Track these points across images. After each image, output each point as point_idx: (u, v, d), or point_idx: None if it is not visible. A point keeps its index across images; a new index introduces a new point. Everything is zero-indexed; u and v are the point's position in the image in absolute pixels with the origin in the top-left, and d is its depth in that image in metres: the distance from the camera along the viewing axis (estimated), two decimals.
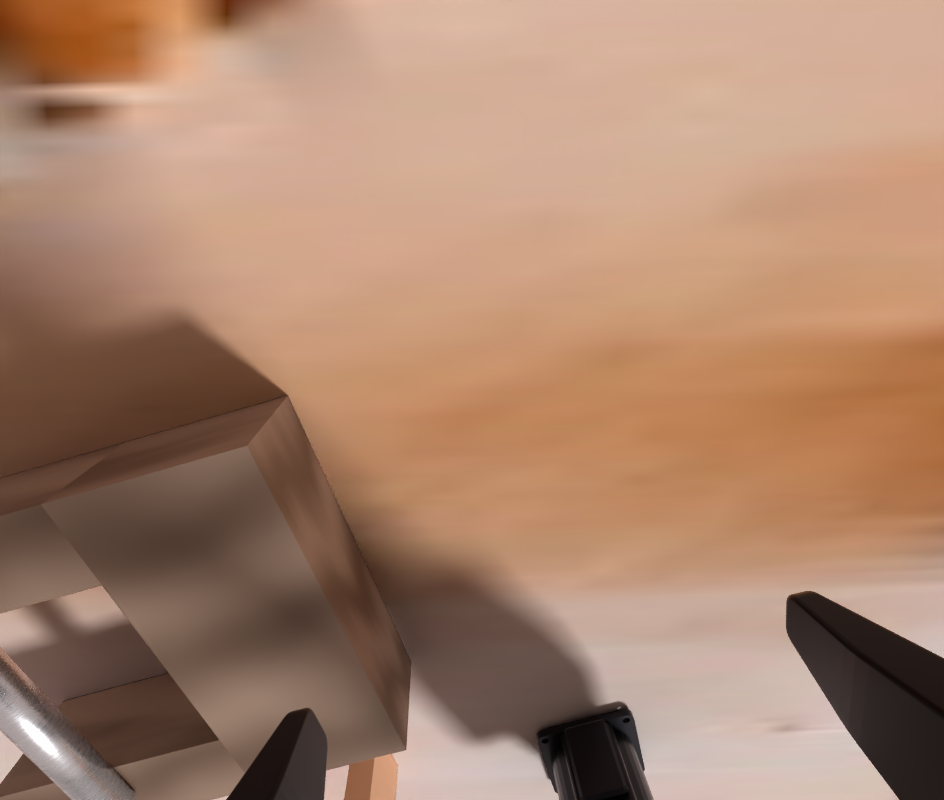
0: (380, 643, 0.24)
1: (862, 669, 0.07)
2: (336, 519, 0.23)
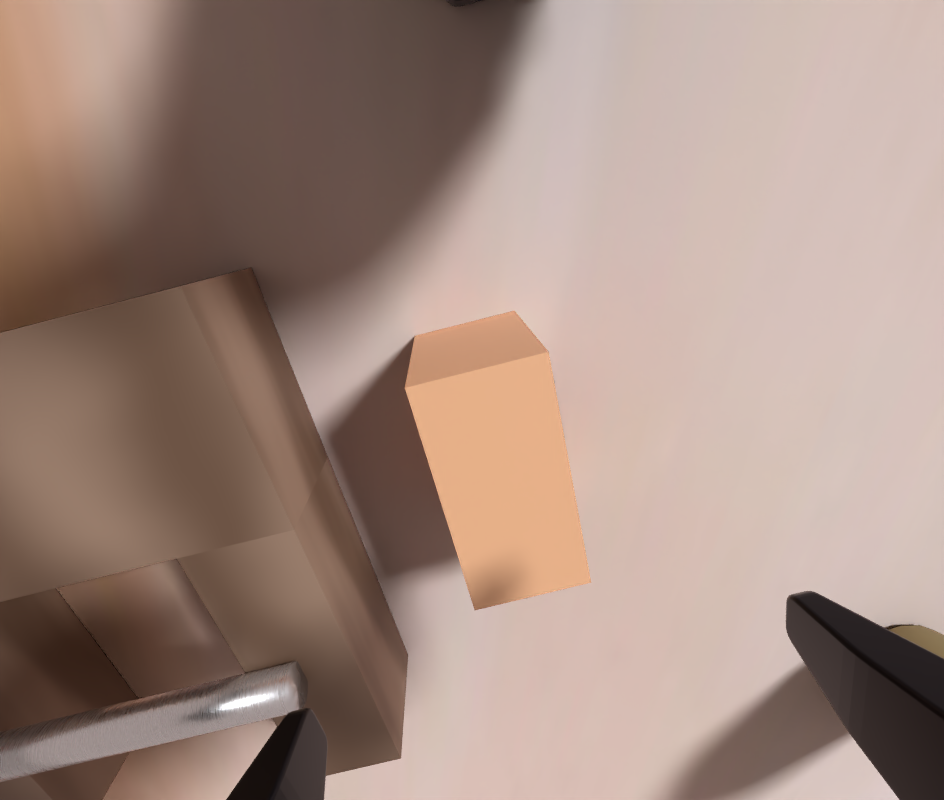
0: None
1: (862, 669, 0.07)
2: None
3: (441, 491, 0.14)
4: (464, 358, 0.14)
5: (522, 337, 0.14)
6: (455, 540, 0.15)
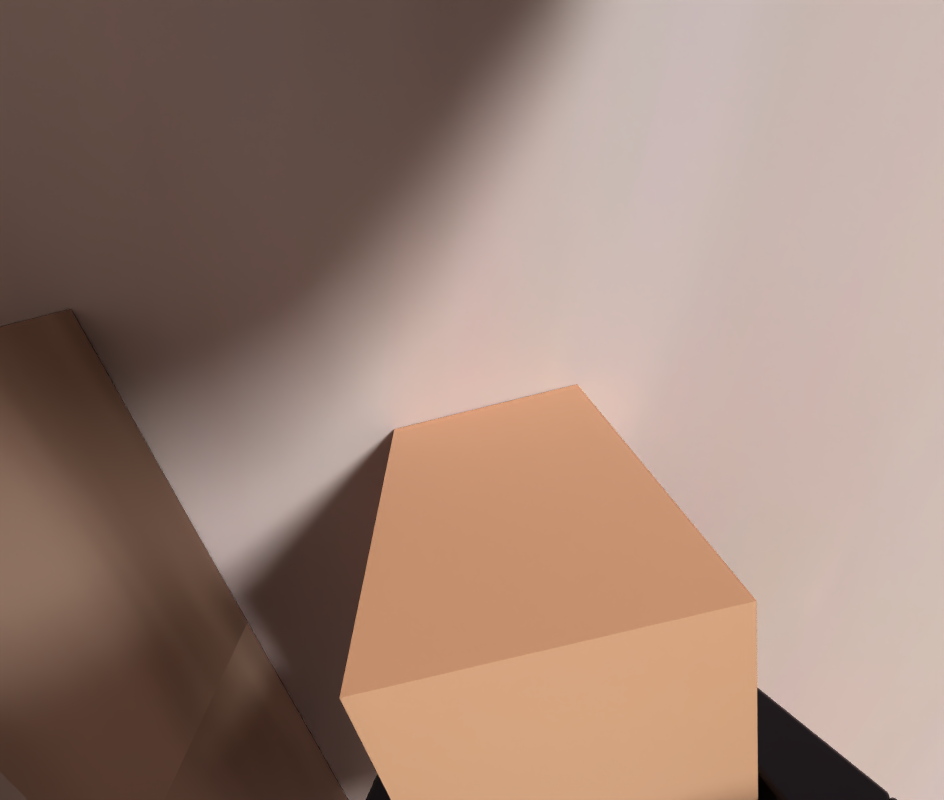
0: None
1: None
2: None
3: None
4: (501, 559, 0.06)
5: (633, 491, 0.06)
6: None
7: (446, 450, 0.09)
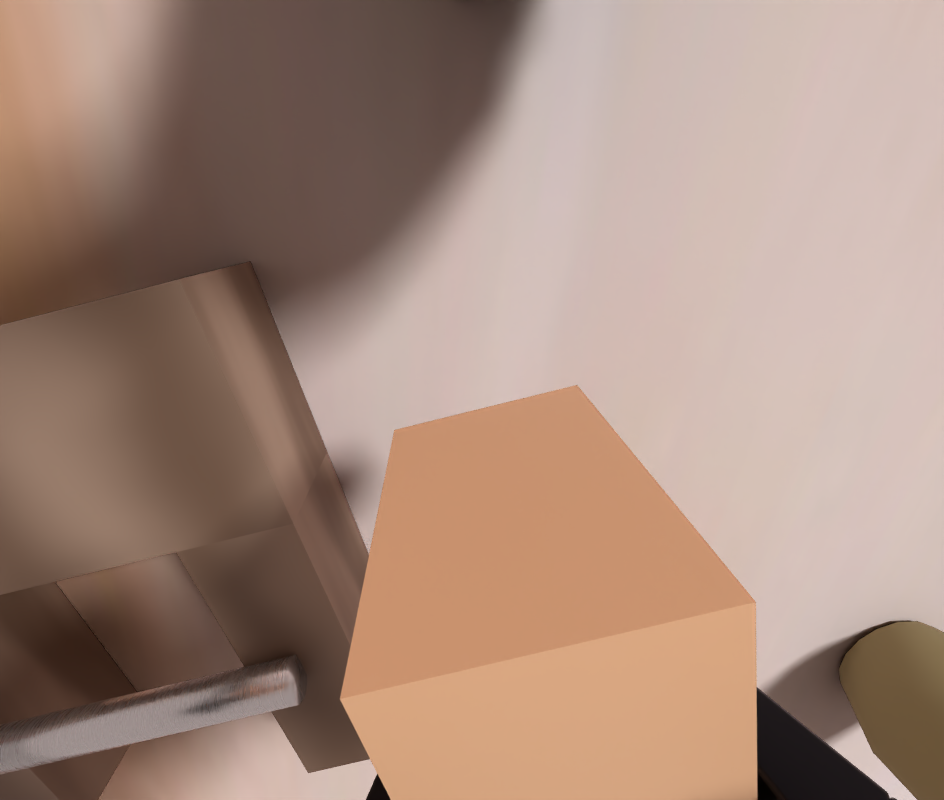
0: None
1: None
2: None
3: None
4: (500, 560, 0.06)
5: (632, 492, 0.06)
6: None
7: (446, 451, 0.09)
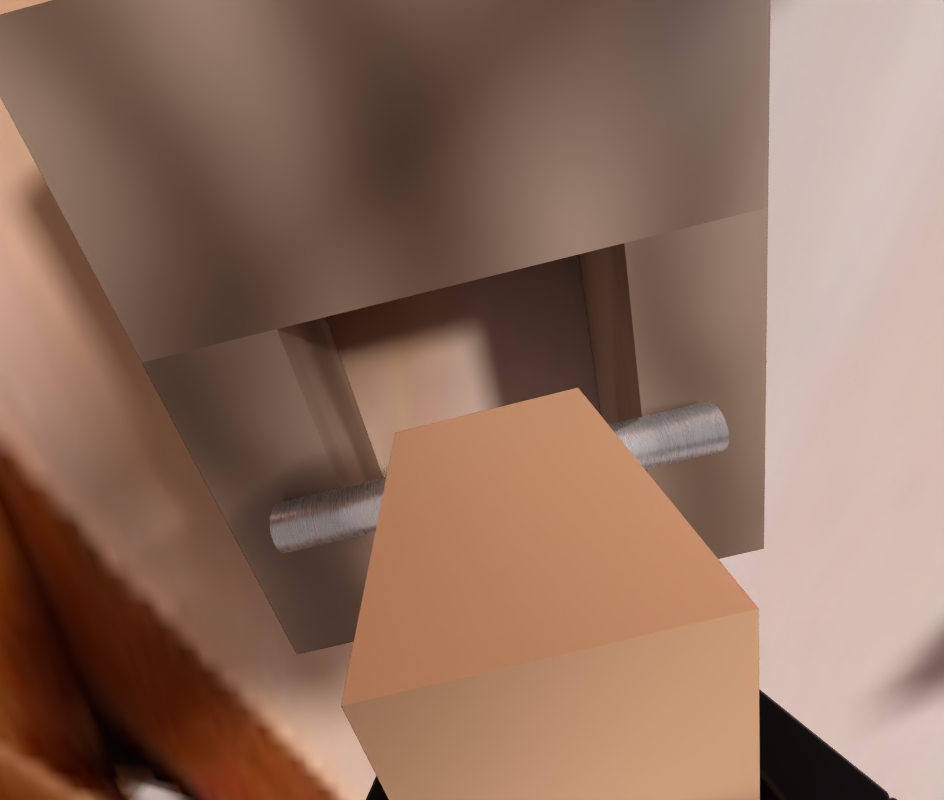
0: None
1: None
2: None
3: None
4: (502, 565, 0.06)
5: (634, 497, 0.06)
6: None
7: (447, 454, 0.09)
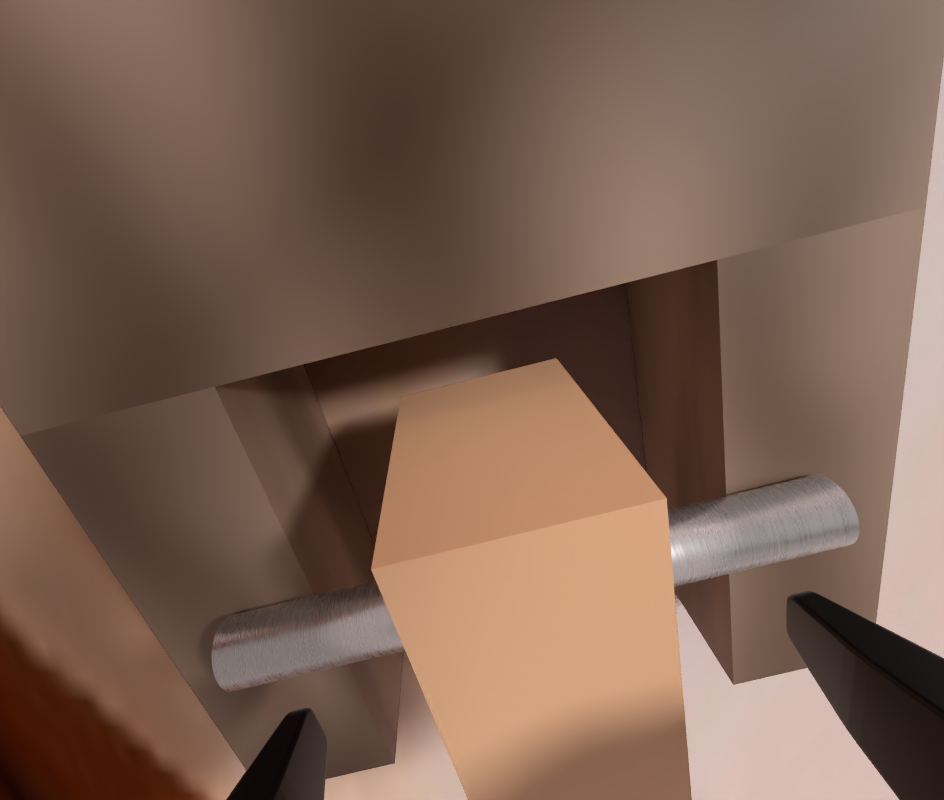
0: None
1: (862, 669, 0.07)
2: None
3: (444, 726, 0.08)
4: (488, 483, 0.07)
5: (591, 434, 0.08)
6: (469, 791, 0.08)
7: (445, 411, 0.10)
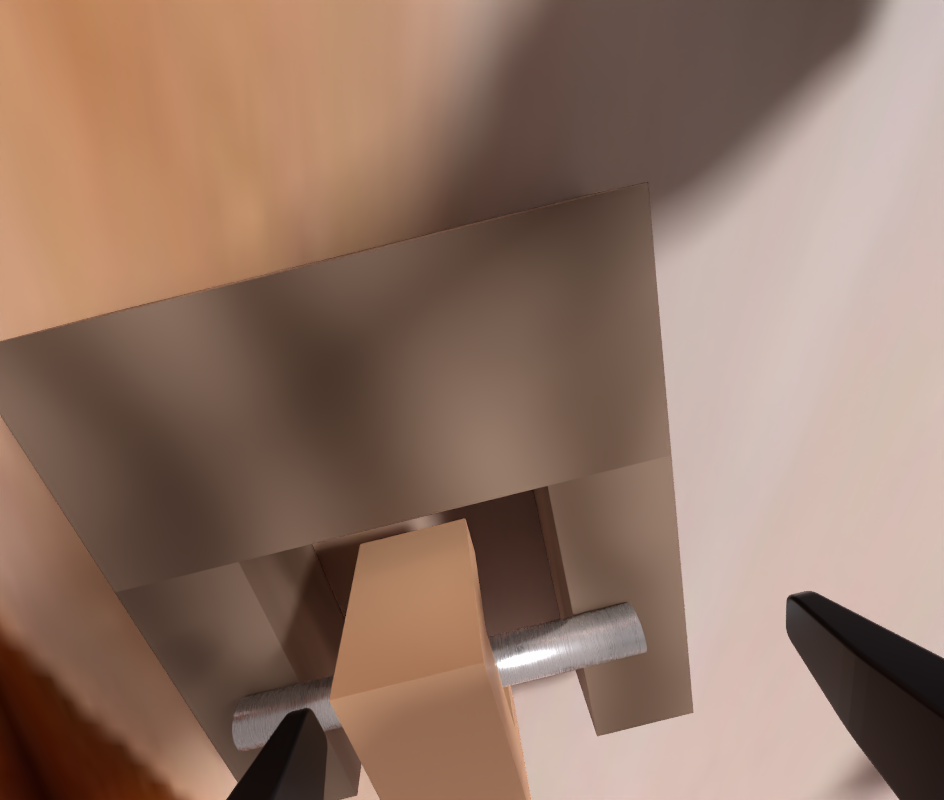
0: (463, 226, 0.14)
1: (862, 669, 0.07)
2: None
3: (374, 780, 0.13)
4: (399, 639, 0.13)
5: (463, 604, 0.14)
6: None
7: (386, 566, 0.16)
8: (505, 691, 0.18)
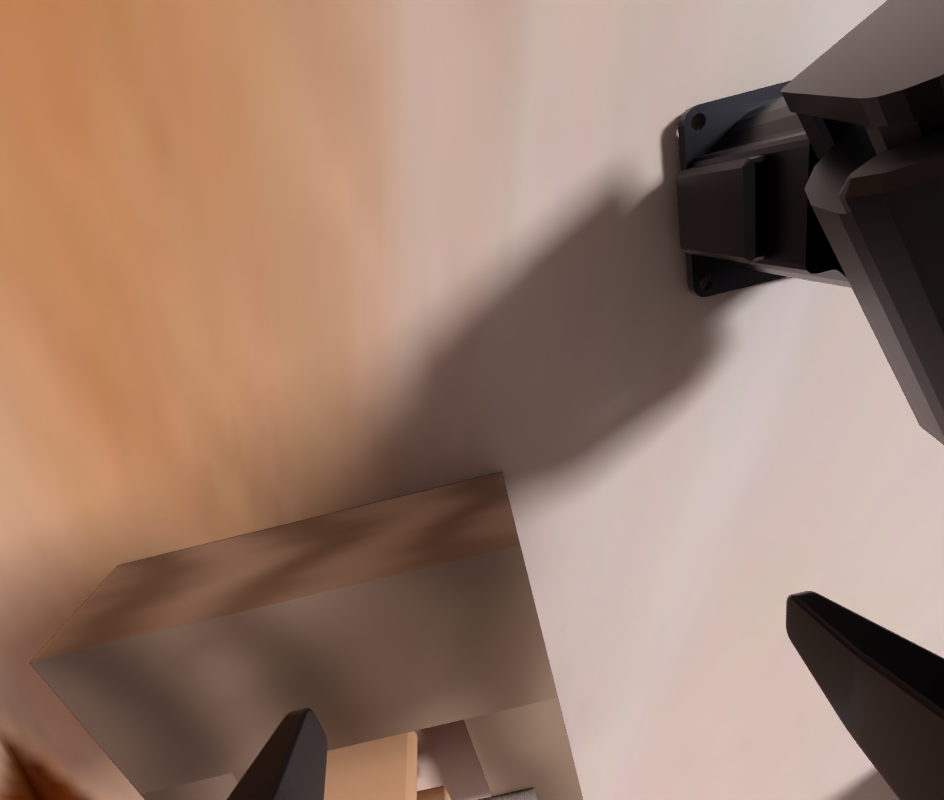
0: (396, 530, 0.19)
1: (862, 669, 0.07)
2: (245, 545, 0.20)
3: None
4: None
5: None
6: None
7: (342, 770, 0.20)
8: None
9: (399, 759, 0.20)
